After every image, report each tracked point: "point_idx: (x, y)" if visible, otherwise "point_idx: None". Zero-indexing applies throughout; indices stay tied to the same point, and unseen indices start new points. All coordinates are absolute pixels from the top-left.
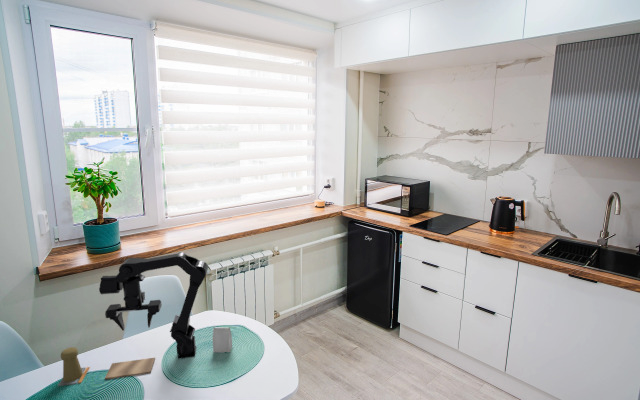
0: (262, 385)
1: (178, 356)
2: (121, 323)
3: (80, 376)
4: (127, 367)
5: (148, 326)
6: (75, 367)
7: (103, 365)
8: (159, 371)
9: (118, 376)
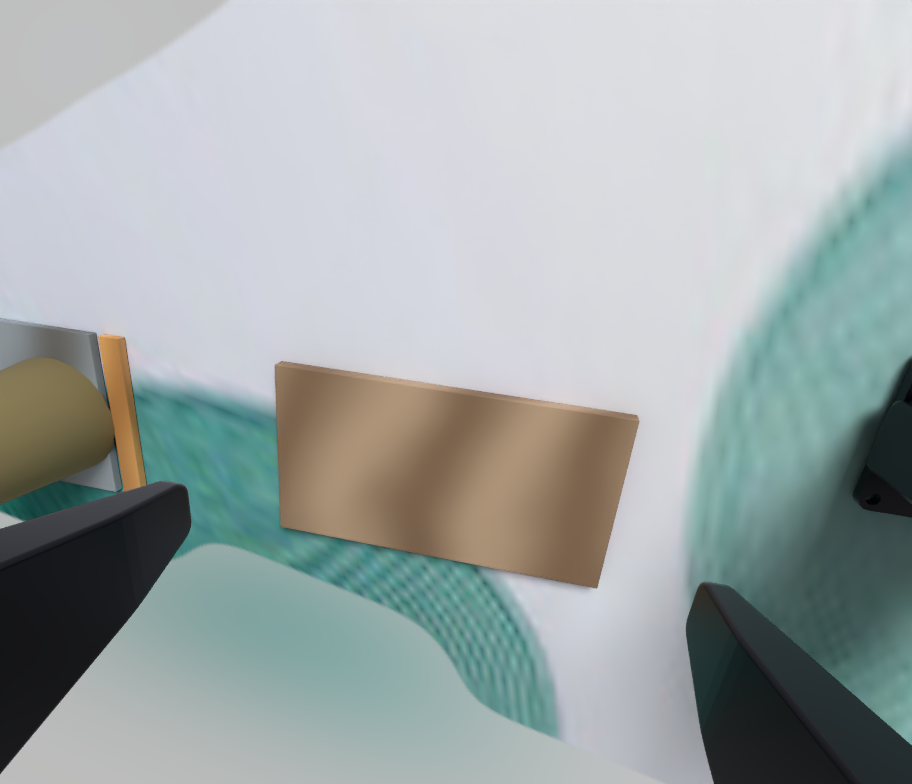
0: None
1: (867, 492)
2: (1, 732)
3: (110, 441)
4: (412, 469)
5: (699, 673)
6: (12, 493)
7: (215, 343)
8: (663, 588)
9: (369, 542)
